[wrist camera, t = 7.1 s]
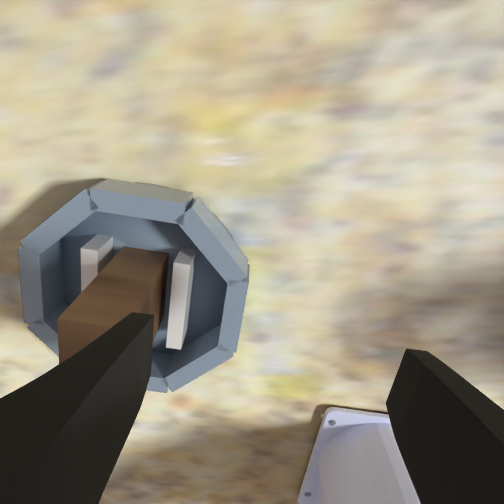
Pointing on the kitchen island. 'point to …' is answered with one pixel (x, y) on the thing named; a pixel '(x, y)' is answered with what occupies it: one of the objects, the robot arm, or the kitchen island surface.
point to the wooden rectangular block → (115, 298)
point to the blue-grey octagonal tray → (149, 238)
